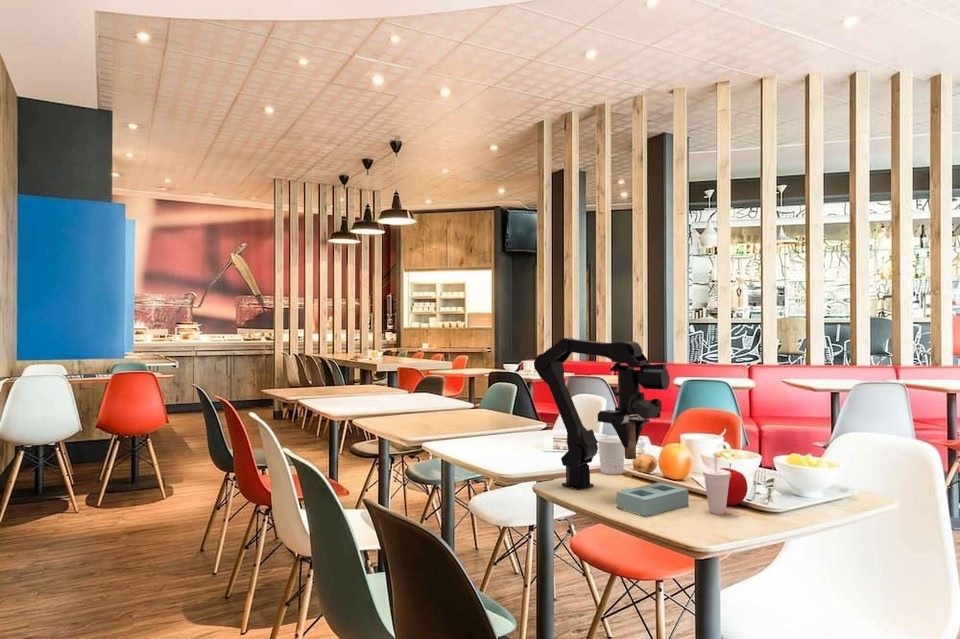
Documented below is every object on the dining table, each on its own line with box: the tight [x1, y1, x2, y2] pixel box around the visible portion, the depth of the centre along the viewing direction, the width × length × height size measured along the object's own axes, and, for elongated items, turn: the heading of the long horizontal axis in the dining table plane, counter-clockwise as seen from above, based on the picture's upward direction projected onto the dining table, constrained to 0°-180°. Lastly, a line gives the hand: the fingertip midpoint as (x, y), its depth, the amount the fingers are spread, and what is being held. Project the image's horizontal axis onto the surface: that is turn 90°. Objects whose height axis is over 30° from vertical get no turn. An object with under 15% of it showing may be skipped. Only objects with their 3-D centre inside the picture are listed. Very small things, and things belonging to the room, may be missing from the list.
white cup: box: [598, 437, 625, 476], centre depth 193 cm, size 8×8×10 cm
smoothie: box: [702, 453, 731, 515], centre depth 151 cm, size 6×6×14 cm
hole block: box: [616, 482, 690, 517], centre depth 155 cm, size 9×16×4 cm, turn 124°
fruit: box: [719, 462, 748, 506], centre depth 158 cm, size 9×9×10 cm
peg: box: [624, 422, 637, 460], centre depth 167 cm, size 3×3×10 cm
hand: (630, 446), depth 167 cm, fingers closed on peg, 3 cm apart
